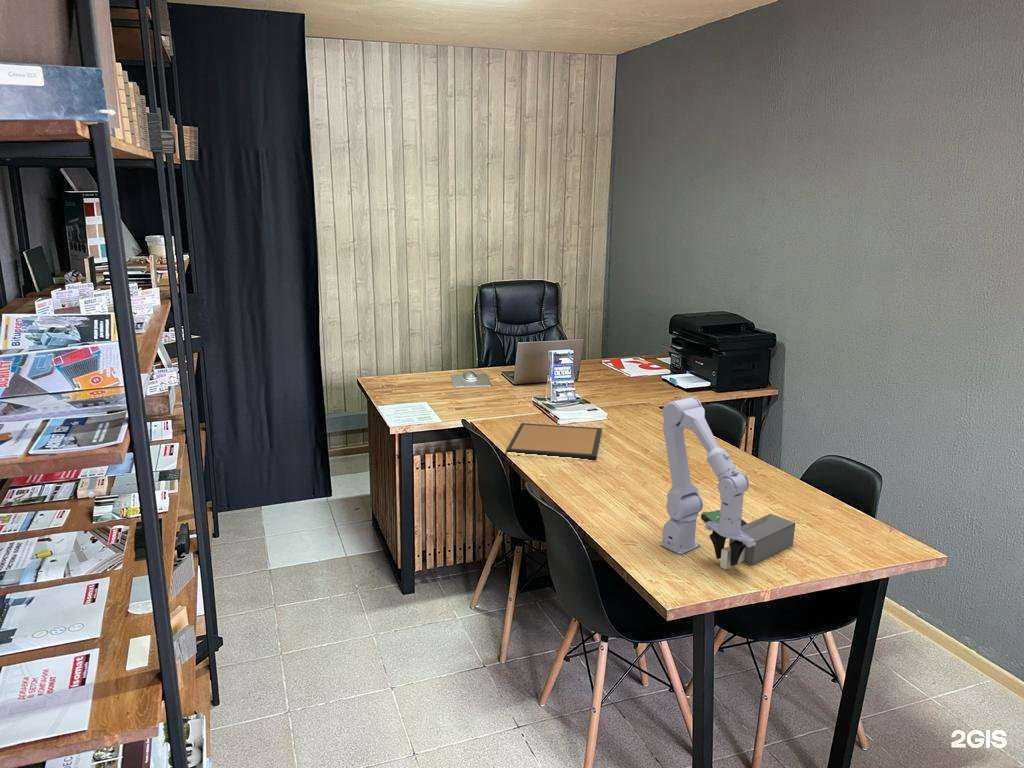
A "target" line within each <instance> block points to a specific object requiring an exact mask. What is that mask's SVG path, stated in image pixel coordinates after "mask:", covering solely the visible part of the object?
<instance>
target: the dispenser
mask: <svg viewBox="0 0 1024 768" xmlns="http://www.w3.org/2000/svg"><path fill="white" fill-rule="evenodd" d="M795 529H796V522H794V521H791V520H789V519H787V518H784V517H781V516H778V515H775V514H773V513H769V514H767V515H764V516H761V517H760V518H758V519H755V520H753V521H751V522H749V523H748V522H747V524H746V525H743V526H741V530H740V531H742V532H743V533H745V534H746V535H747V536H749V537H751V538H753V539H754V546H752V547H750V548H749V547H747V548H746V558H745V563H747V564H749V565H751V566H754V565H757V564H758V563H760V562H762V561H764V560H767V559H768V558H770V557H773V556H774V555H776V554H779V553H780V552H782V551H784V550H787V549H789V548H791V547H792V546H794V539H795ZM732 542H735V540H733V539H730V538H729V542H728V546H730V543H732Z"/></svg>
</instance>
